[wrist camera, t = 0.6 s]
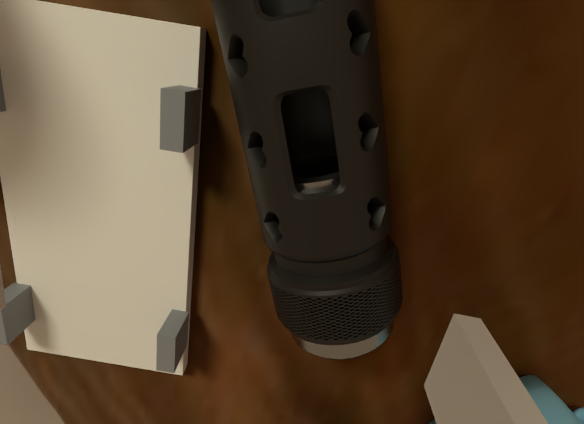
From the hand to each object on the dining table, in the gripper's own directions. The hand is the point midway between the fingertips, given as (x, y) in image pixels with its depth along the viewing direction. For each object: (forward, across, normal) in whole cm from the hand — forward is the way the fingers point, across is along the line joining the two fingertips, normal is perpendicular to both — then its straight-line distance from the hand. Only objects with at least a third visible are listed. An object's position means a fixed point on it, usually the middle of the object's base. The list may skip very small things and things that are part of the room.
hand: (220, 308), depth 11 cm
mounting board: (+20, -15, -8) cm, 26 cm away
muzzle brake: (+21, +2, +2) cm, 21 cm away
